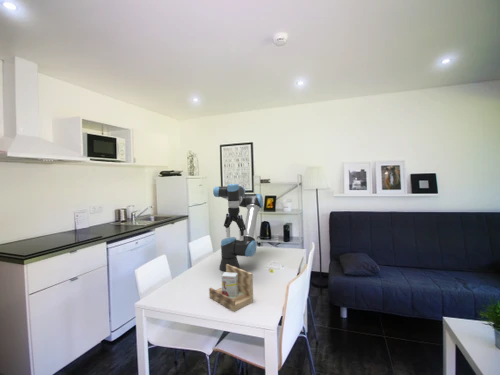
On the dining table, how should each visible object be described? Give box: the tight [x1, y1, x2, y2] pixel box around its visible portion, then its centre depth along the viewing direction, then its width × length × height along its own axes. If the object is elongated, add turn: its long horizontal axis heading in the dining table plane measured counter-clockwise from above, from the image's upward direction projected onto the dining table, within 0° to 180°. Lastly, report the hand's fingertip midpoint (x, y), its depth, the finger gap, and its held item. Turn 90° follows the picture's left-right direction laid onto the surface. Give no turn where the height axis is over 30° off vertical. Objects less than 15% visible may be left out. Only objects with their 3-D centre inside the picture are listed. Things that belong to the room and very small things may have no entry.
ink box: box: [221, 271, 238, 297], centre depth 141 cm, size 9×5×12 cm, turn 80°
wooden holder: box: [208, 264, 254, 312], centre depth 141 cm, size 22×14×16 cm, turn 43°
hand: (234, 238), depth 165 cm, fingers open, 13 cm apart
